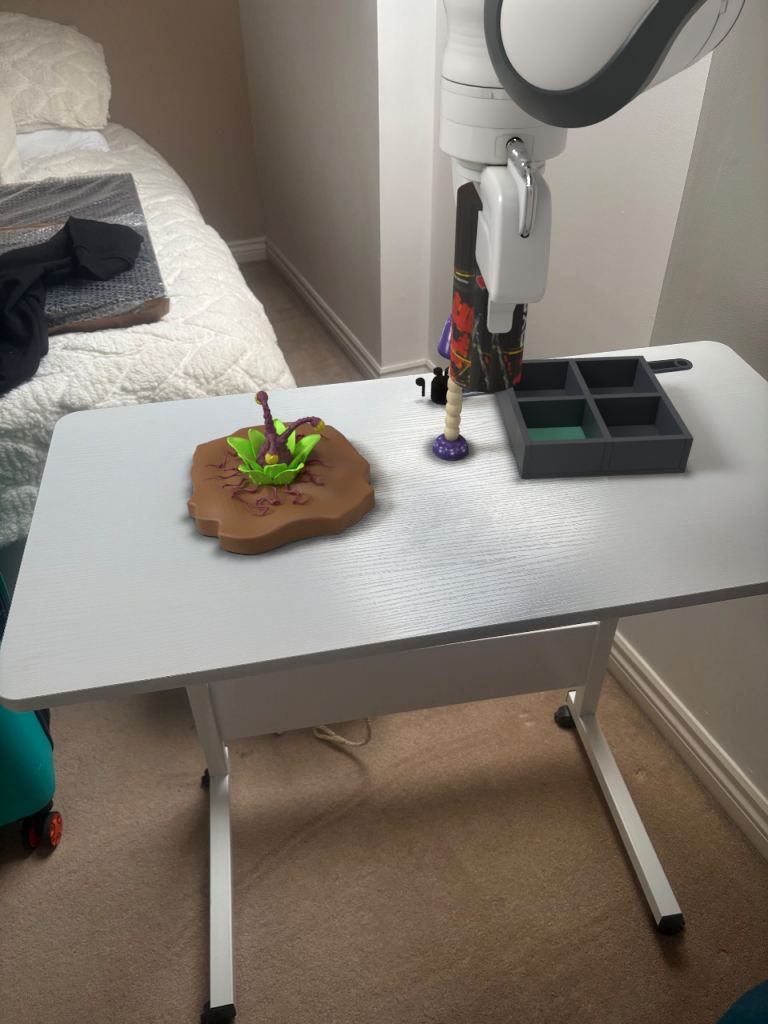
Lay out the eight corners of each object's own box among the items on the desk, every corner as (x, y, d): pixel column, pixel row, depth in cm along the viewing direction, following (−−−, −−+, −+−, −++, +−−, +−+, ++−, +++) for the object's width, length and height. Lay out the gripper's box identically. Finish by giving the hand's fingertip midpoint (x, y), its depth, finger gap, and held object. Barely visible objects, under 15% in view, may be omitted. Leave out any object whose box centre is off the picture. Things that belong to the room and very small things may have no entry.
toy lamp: (446, 433, 99) (452, 303, 88) (480, 446, 97) (491, 314, 86) (425, 453, 96) (429, 320, 85) (460, 466, 94) (468, 332, 83)
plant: (338, 424, 101) (334, 341, 93) (395, 521, 86) (395, 431, 79) (172, 458, 95) (154, 372, 88) (204, 567, 81) (185, 476, 74)
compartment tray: (636, 387, 107) (643, 355, 104) (684, 472, 93) (693, 438, 90) (494, 392, 106) (497, 360, 103) (521, 479, 92) (525, 445, 89)
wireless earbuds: (469, 396, 105) (471, 361, 102) (472, 407, 103) (475, 371, 100) (414, 400, 105) (415, 365, 102) (417, 411, 103) (418, 375, 100)
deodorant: (524, 392, 67) (545, 205, 58) (451, 392, 67) (459, 206, 58) (516, 356, 72) (534, 178, 62) (447, 357, 72) (455, 179, 62)
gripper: (587, 165, 49) (559, 371, 58) (521, 85, 65) (507, 256, 74) (481, 168, 49) (469, 375, 58) (440, 87, 65) (436, 259, 73)
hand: (490, 307), depth 66 cm, fingers closed on deodorant, 6 cm apart
